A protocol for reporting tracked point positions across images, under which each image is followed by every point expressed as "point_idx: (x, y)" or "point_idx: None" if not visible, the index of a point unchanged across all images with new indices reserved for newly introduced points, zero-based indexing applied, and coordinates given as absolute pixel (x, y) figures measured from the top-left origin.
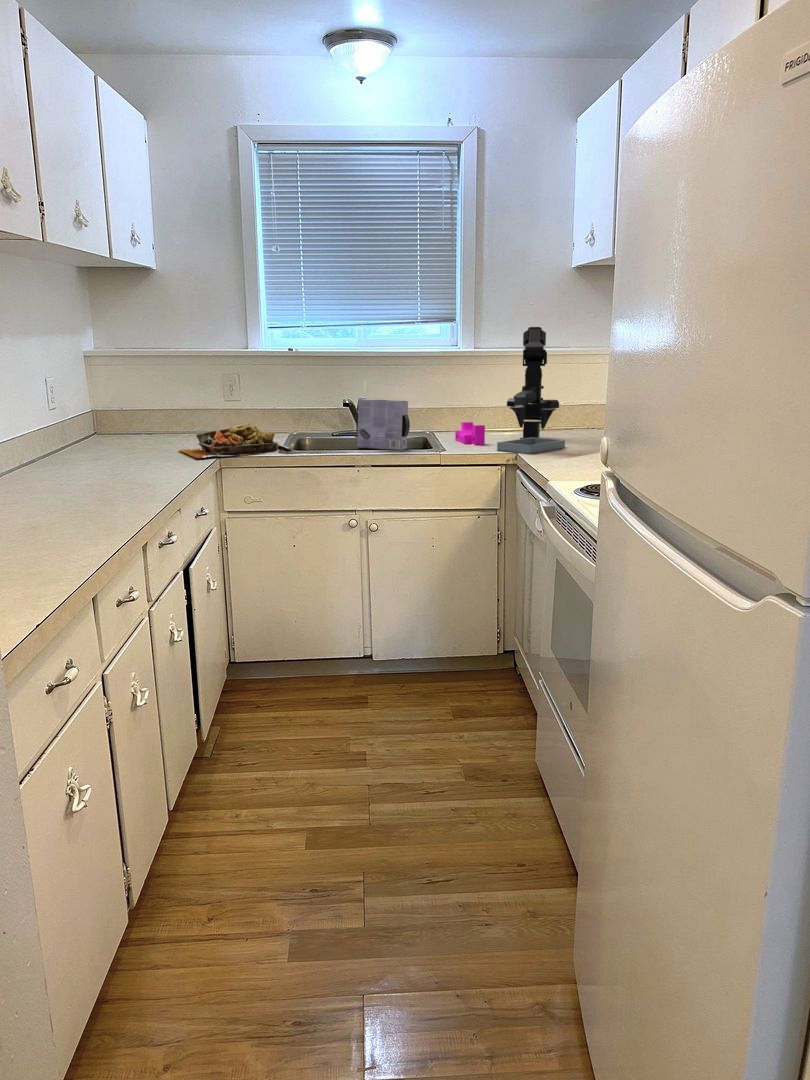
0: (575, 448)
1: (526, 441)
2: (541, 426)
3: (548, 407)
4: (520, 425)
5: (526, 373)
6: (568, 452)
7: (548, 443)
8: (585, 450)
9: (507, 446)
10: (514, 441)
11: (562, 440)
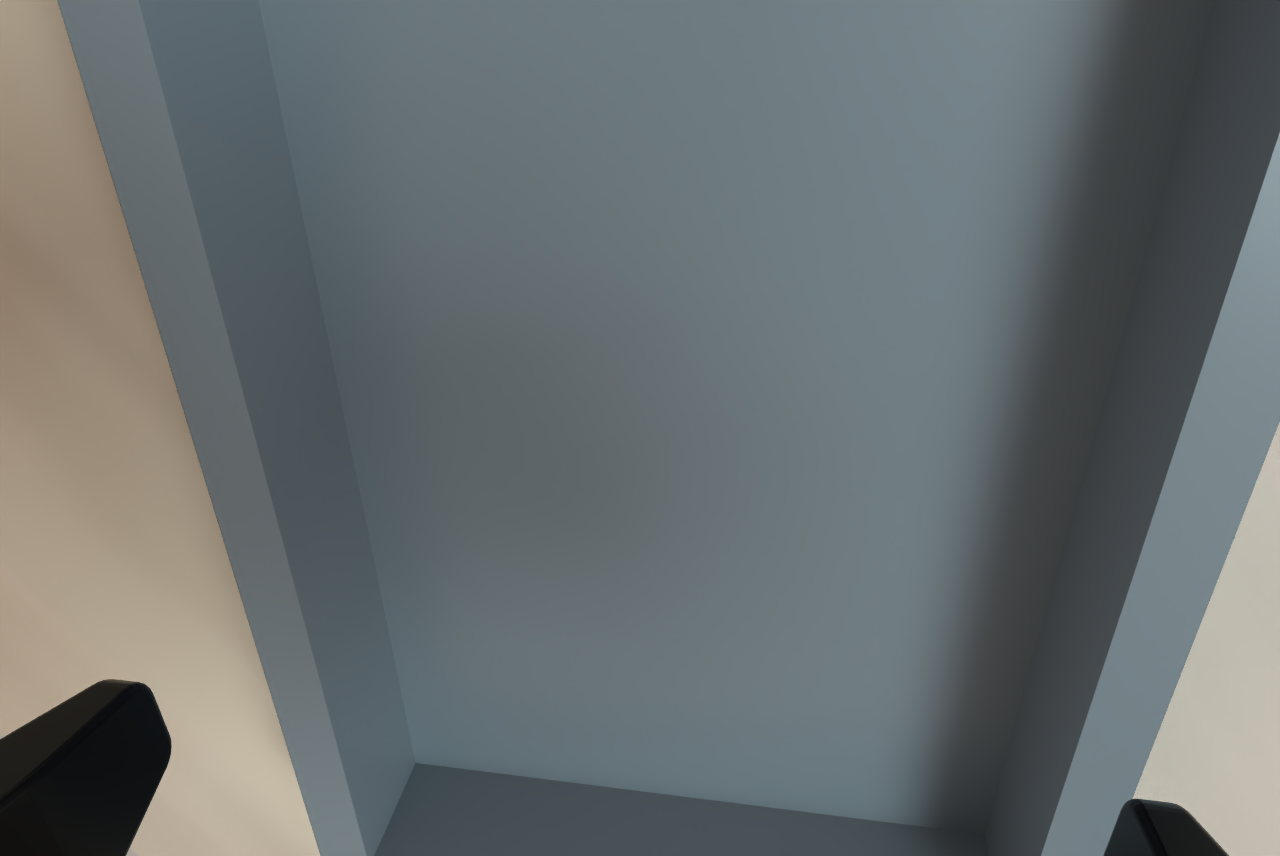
0: None
1: (1045, 752)
2: (60, 735)
3: None
4: (1165, 853)
5: None
6: (8, 466)
7: (214, 467)
8: None
9: None
10: (1181, 382)
11: (326, 850)
